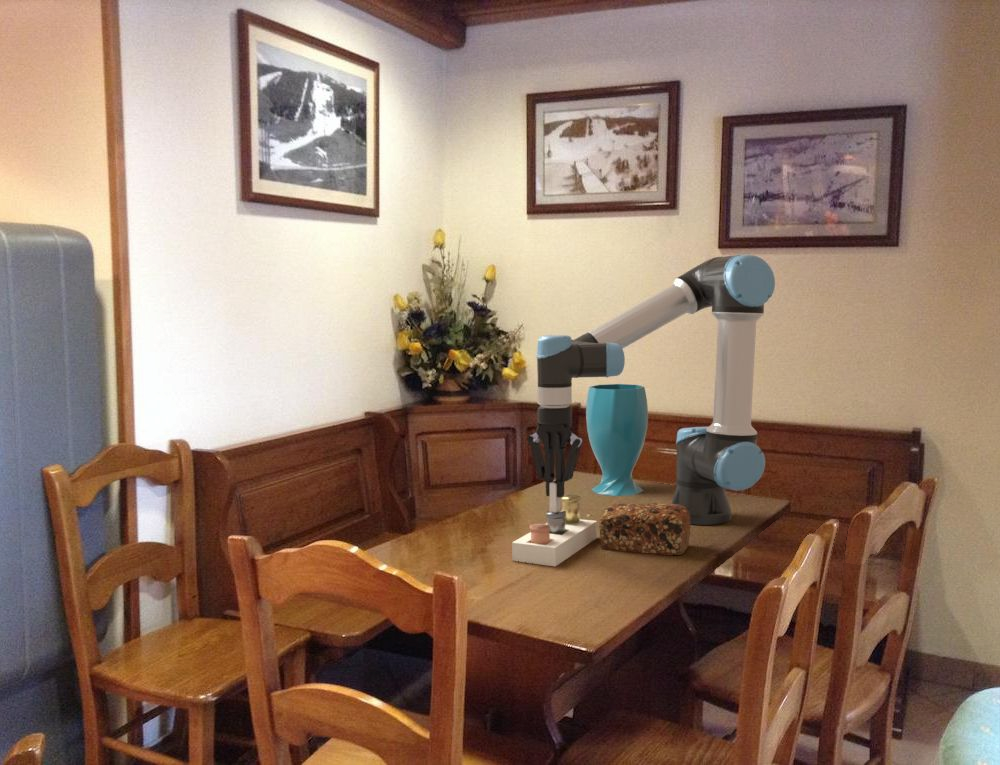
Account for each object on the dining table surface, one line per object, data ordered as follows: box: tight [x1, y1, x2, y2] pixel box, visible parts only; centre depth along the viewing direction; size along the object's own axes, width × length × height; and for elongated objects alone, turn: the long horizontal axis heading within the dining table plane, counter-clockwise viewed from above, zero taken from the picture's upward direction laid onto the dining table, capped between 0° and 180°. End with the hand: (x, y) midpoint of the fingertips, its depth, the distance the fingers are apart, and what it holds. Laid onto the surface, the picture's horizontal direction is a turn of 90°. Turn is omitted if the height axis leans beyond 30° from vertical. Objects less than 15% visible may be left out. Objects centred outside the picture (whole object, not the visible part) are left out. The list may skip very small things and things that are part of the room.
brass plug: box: [561, 494, 582, 524], centre depth 204 cm, size 4×4×6 cm
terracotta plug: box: [529, 523, 550, 545], centre depth 189 cm, size 4×4×6 cm
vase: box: [585, 383, 649, 497], centre depth 254 cm, size 17×17×30 cm
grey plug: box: [545, 509, 566, 535], centre depth 197 cm, size 4×4×6 cm
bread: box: [598, 502, 691, 556], centre depth 197 cm, size 19×11×10 cm, turn 66°
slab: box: [511, 518, 598, 567], centre depth 197 cm, size 10×24×4 cm, turn 153°
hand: (555, 510), depth 196 cm, fingers closed
